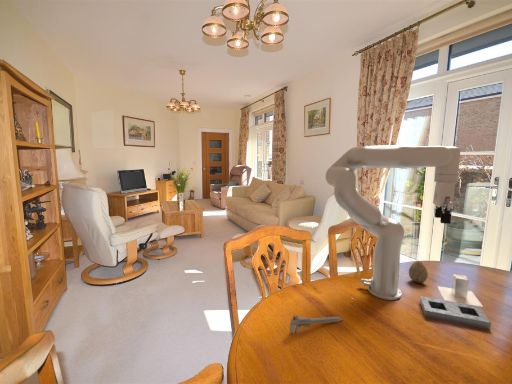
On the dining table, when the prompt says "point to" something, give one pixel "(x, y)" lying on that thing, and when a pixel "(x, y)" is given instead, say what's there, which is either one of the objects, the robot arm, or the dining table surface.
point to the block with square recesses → (454, 312)
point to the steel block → (460, 286)
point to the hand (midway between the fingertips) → (442, 220)
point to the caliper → (310, 322)
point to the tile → (449, 297)
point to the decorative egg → (418, 272)
